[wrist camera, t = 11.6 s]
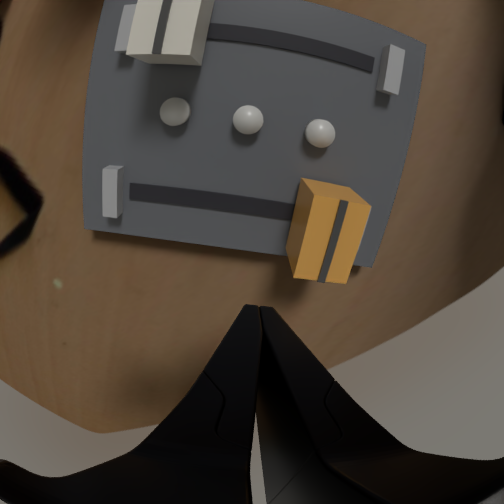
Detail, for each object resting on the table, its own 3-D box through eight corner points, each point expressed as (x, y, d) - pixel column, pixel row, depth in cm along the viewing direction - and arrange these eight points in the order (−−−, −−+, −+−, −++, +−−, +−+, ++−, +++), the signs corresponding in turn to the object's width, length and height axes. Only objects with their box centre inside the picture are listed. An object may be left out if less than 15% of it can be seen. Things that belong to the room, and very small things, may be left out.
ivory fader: (215, -4, 12) (208, -30, 8) (201, 65, 14) (189, 54, 10) (163, -5, 11) (144, -28, 8) (148, 63, 13) (124, 54, 10)
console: (415, 47, 14) (434, 42, 12) (364, 257, 21) (376, 275, 19) (115, -1, 12) (99, -12, 10) (93, 220, 20) (77, 234, 17)
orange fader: (349, 187, 17) (372, 207, 14) (330, 254, 19) (346, 285, 16) (301, 177, 17) (315, 195, 13) (285, 247, 19) (293, 279, 15)
